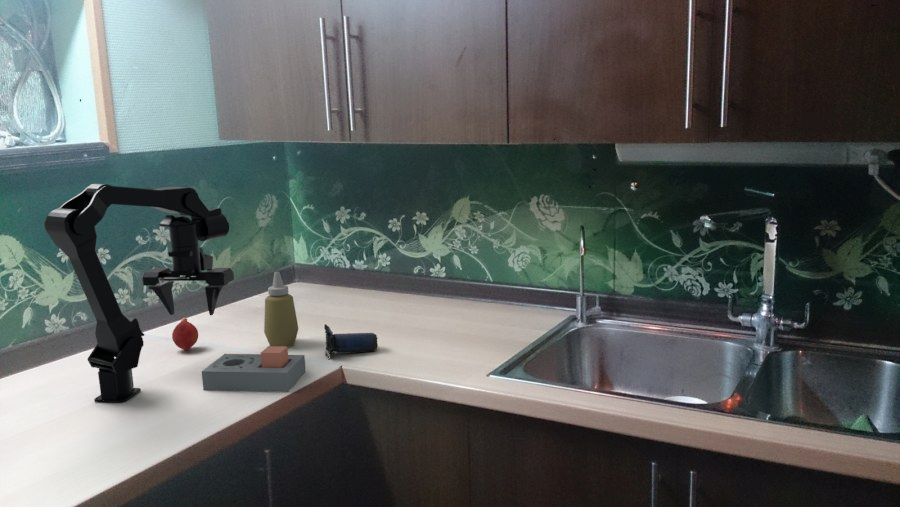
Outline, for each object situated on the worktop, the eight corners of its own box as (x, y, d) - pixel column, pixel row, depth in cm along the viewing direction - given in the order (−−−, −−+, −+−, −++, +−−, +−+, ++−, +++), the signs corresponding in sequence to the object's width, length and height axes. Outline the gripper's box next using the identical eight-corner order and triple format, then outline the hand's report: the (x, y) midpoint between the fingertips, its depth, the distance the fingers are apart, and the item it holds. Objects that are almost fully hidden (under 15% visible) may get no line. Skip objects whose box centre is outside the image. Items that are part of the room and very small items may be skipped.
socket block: (288, 391, 151) (286, 372, 150) (203, 389, 153) (201, 371, 152) (305, 372, 161) (304, 354, 161) (226, 371, 164) (224, 353, 163)
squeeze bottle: (258, 348, 179) (252, 274, 176) (280, 338, 186) (275, 267, 183) (284, 352, 176) (278, 277, 172) (306, 342, 183) (301, 269, 179)
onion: (191, 354, 176) (188, 322, 174) (169, 354, 177) (165, 321, 176) (204, 347, 182) (200, 315, 180) (182, 346, 183) (179, 314, 181)
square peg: (282, 385, 154) (280, 352, 153) (263, 385, 155) (260, 352, 154) (289, 378, 159) (287, 346, 157) (270, 377, 159) (268, 346, 158)
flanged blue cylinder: (327, 366, 169) (379, 362, 173) (328, 336, 167) (381, 332, 170) (321, 347, 177) (371, 344, 181) (322, 318, 175) (373, 315, 178)
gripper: (241, 238, 169) (247, 305, 172) (163, 238, 171) (170, 305, 174) (219, 247, 158) (226, 319, 161) (136, 247, 160) (144, 318, 164)
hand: (191, 314), depth 165 cm, fingers open, 9 cm apart
